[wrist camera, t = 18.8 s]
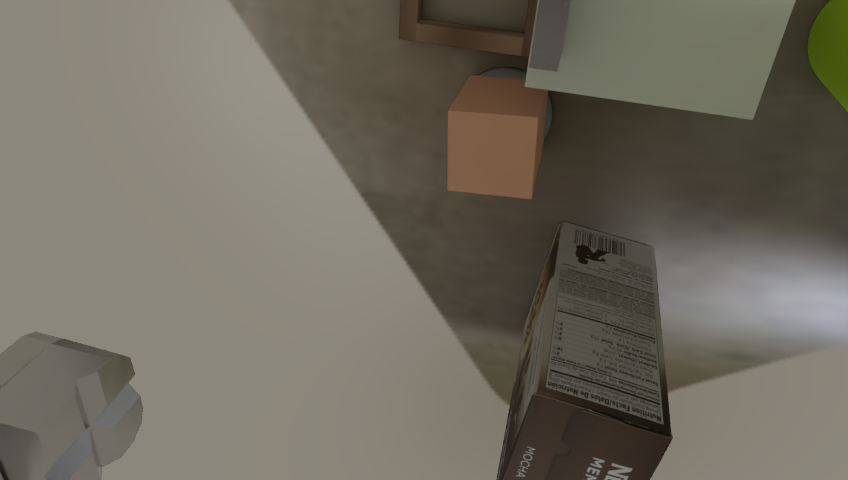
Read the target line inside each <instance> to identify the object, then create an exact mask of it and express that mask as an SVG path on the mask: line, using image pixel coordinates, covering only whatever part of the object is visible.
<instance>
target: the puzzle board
mask: <svg viewBox="0 0 848 480" xmlns="http://www.w3.org/2000/svg"><path fill="white" fill-rule="evenodd" d="M422 2H423V0H401V5H400V27H399V39H402V40H409V41H416V42H423V43H431V44H438V45H445V46H452V47H460V48H467V49H474V50H481V51H488V52H496V53H503V54H510V55H517V56H525V57H529V54H530V48H531V41H532V35H533V28H534V22H535V15H536V9H537V2H538V0H529V5H528V11H527V18H526V25H525V32H524V33H521V32H513V31H505V30H498V29H490V28H483V27H475V26H468V25H460V24H453V23H445V22H437V21H430V20H422V19H421V18H422Z"/></svg>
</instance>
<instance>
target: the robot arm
mask: <svg viewBox="0 0 848 480" xmlns="http://www.w3.org/2000/svg"><path fill="white" fill-rule="evenodd" d="M134 375H135V372H134V369H133V365H132V362H131V359H130V358H129V357H126V356H123V355H120V354H117V353H113V352H109V351H106V350H102V349H99V348H95V347H91V346H88V345H84V344H81V343H77V342H73V341H69V340H66V339H61V338H58V337H54V336H50V335H46V334H42V333H39V332H33V333H30V334H27V335H24V336H22V337H21V338H19V339H18V340H17V341H16V342H14V343H13V344H12V345H11V346H10V347H8V348H7V349H6V350H5V351H4V352H2V353H1V354H0V480H101V478H102V467H103V466H105V465H107V464H109V463H111V462H113V461H115V460H117V459H119V458H121V457H122V456H123V455H124V453H125V452H126V451H127V449H128V448H129V447H130V445H131V444H132V443H133V441H134V439H135V437H136V434H137V432H138V430H139V427H140V425H141V423H142V411H143V407H142V402H141V397H140V395H139V394H138V393H137V392H136V391H135V390H134V388H133V387H132V386H131V385H130V384H129V381H130V380H131V379H132V378H133V376H134Z"/></svg>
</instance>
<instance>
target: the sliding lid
mask: <svg viewBox="0 0 848 480" xmlns="http://www.w3.org/2000/svg"><path fill="white" fill-rule="evenodd" d="M795 1H796V0H538V2H537V9H536V15H535V22H534V28H533V35H532V41H531V48H530V54H529V61H528V67H527V74H526V80H525V87H531V88H538V89H545V90H552V91H558V92H565V93H572V94H579V95H586V96H593V97H599V98H606V99H613V100H620V101H627V102H633V103H640V104H647V105H654V106H661V107H668V108H674V109H681V110H688V111H695V112H702V113H708V114H715V115H722V116H729V117H736V118H743V119H749V120H753V118H754V115H755V113H756V110H757V107H758V104H759V101H760V99H761V96H762V93H763V90H764V87H765V85H766V82H767V79H768V76H769V74H770V71H771V68H772V65H773V62H774V60H775V57H776V54H777V51H778V49H779V46H780V43H781V40H782V37H783V35H784V32H785V29H786V26H787V23H788V21H789V18H790V15H791V12H792V10H793V7H794V4H795Z"/></svg>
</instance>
